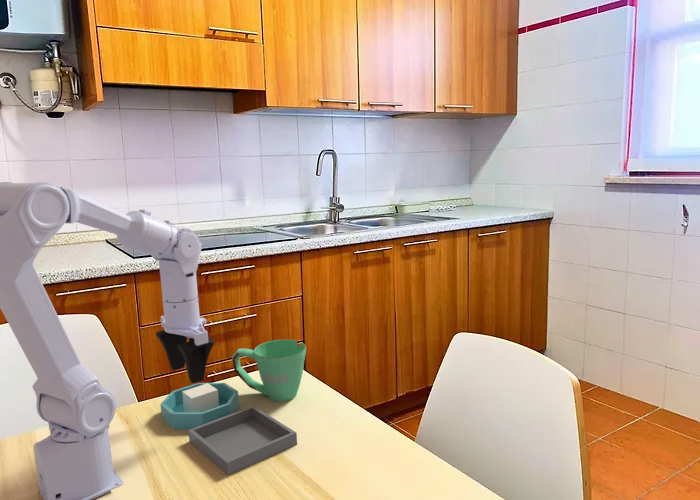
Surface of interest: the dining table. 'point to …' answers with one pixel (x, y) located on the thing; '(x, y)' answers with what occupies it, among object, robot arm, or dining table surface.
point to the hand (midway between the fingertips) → (187, 374)
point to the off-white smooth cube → (200, 398)
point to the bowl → (188, 420)
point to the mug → (274, 368)
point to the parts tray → (242, 439)
